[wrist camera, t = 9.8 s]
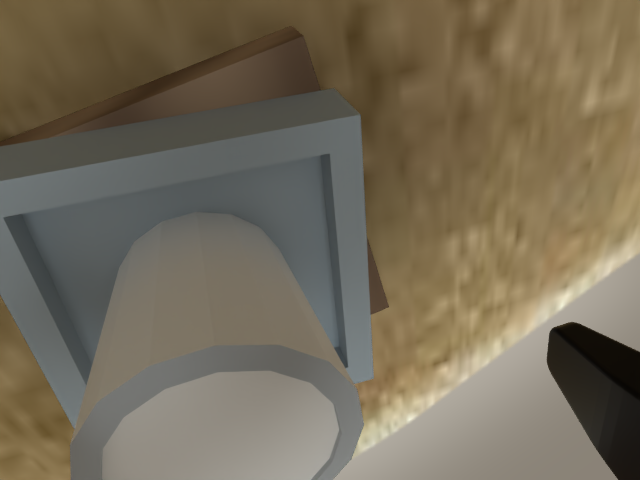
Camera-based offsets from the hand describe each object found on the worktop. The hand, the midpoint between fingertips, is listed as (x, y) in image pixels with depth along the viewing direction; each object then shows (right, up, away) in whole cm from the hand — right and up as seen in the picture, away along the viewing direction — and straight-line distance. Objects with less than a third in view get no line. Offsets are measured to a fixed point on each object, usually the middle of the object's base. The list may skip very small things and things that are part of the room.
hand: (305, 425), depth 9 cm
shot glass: (-4, +2, +9) cm, 10 cm away
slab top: (-4, +2, +11) cm, 12 cm away
